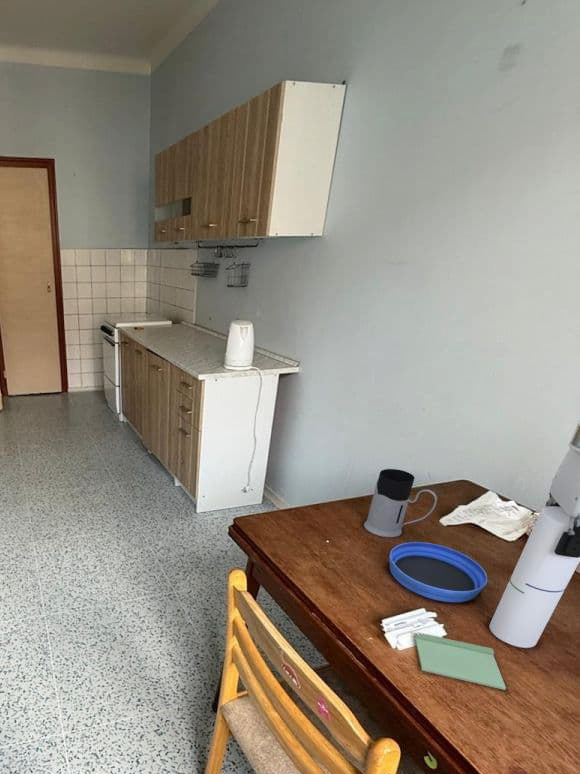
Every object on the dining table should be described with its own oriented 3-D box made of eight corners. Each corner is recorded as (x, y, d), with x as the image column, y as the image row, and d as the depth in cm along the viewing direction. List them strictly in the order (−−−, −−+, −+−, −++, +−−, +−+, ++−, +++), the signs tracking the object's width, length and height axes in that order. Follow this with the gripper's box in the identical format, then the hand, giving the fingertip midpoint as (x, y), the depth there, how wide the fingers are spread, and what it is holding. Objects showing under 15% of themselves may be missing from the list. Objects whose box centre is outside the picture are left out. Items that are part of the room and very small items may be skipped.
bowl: (368, 565, 107) (371, 552, 105) (426, 548, 113) (430, 535, 111) (439, 614, 92) (444, 600, 91) (502, 592, 98) (508, 578, 96)
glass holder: (374, 516, 126) (387, 464, 119) (430, 537, 117) (448, 483, 110) (357, 527, 122) (370, 474, 115) (414, 550, 112) (432, 494, 105)
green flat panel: (490, 651, 84) (492, 647, 83) (505, 690, 76) (507, 686, 76) (414, 634, 88) (415, 630, 87) (421, 670, 80) (423, 666, 80)
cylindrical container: (528, 653, 83) (591, 533, 71) (482, 630, 88) (534, 514, 76) (542, 636, 87) (604, 518, 75) (498, 615, 92) (549, 502, 80)
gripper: (673, 467, 61) (610, 577, 70) (609, 425, 75) (563, 521, 84) (600, 460, 64) (548, 567, 72) (552, 421, 78) (513, 514, 86)
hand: (556, 541), depth 78 cm, fingers closed on cylindrical container, 7 cm apart
